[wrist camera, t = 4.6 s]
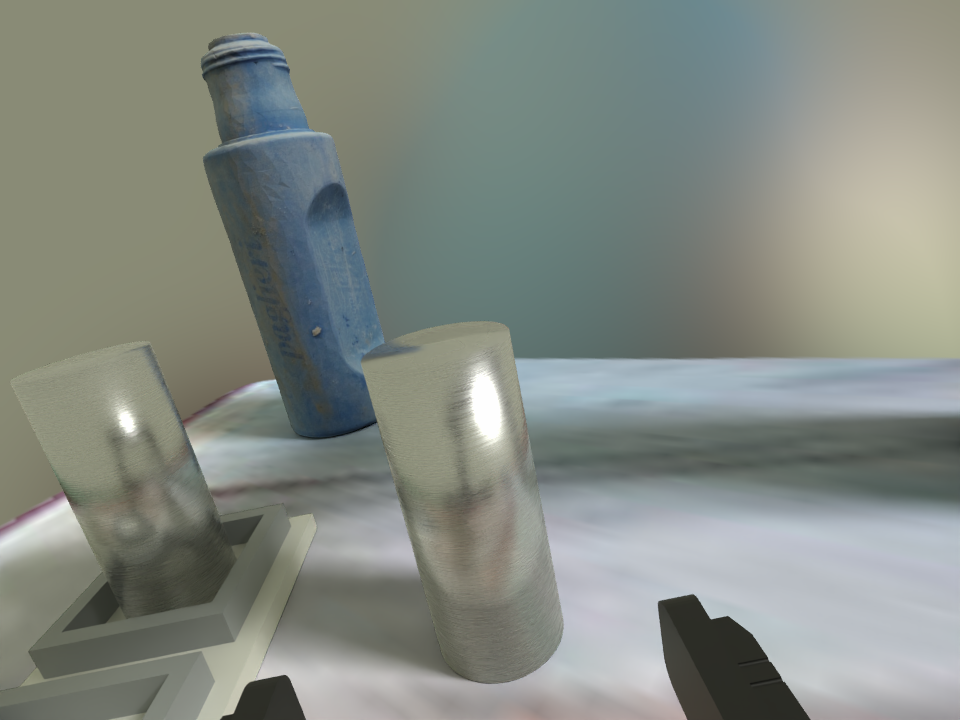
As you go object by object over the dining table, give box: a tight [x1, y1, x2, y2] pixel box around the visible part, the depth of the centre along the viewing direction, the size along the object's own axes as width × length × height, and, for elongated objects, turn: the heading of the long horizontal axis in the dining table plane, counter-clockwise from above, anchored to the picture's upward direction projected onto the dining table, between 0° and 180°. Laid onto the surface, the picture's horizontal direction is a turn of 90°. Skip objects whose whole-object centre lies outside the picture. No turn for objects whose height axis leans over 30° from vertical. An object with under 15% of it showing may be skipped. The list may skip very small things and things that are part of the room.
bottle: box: [201, 33, 385, 437], centre depth 43 cm, size 10×10×30 cm
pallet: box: [0, 503, 317, 720], centre depth 21 cm, size 20×10×2 cm, turn 3°
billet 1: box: [10, 341, 237, 619], centre depth 24 cm, size 5×5×12 cm
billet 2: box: [361, 321, 564, 683], centre depth 20 cm, size 5×5×12 cm
